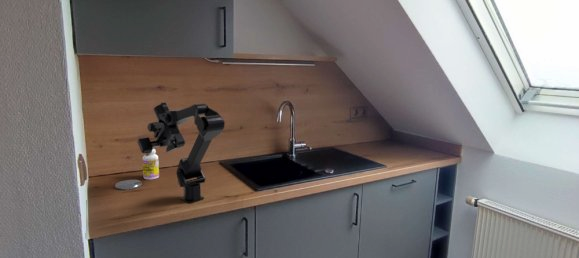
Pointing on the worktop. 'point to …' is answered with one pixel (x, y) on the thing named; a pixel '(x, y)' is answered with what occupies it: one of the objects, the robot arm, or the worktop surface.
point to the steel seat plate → (128, 184)
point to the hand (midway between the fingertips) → (156, 153)
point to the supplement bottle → (150, 166)
